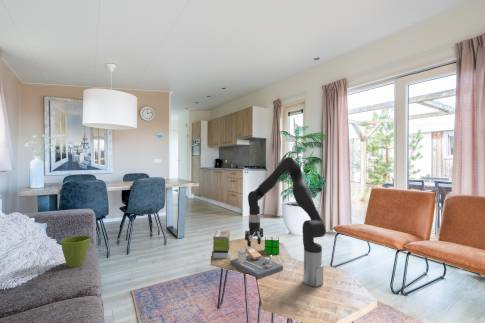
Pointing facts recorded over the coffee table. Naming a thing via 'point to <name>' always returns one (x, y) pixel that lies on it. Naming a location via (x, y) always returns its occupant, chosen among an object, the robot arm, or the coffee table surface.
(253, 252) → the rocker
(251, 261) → the control board
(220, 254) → the tea box
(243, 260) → the slider knob
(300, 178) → the robot arm
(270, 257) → the toggle lever
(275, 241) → the puzzle cube
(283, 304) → the coffee table surface
